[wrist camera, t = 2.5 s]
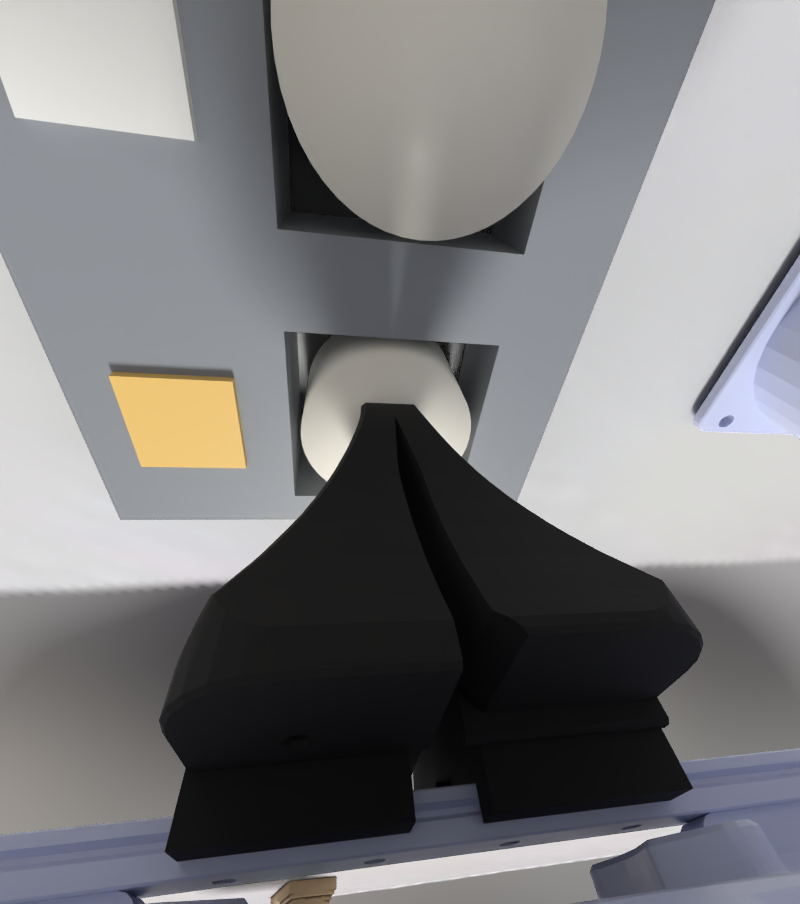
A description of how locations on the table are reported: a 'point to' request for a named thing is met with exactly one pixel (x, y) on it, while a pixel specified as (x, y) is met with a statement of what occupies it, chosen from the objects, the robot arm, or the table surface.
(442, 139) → the button middle
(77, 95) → the button board
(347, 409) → the button end
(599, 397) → the table surface
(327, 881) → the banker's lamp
